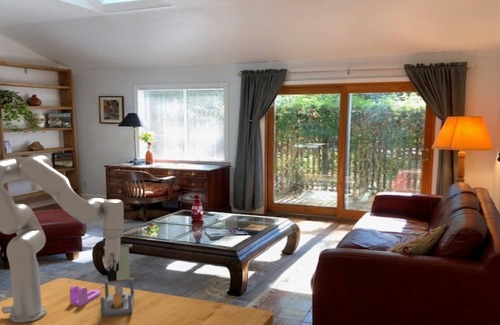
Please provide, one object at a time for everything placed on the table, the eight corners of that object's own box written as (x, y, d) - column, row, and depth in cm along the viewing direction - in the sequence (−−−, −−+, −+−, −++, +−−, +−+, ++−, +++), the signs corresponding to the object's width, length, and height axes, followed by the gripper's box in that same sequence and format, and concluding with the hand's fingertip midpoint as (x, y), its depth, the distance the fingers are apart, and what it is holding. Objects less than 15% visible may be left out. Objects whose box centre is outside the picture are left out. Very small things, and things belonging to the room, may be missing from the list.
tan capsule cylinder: (113, 310, 169) (112, 297, 169) (114, 307, 172) (113, 293, 172) (121, 309, 170) (120, 296, 169) (122, 306, 173) (121, 293, 172)
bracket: (81, 306, 176) (80, 289, 175) (70, 304, 178) (69, 287, 178) (103, 293, 188) (102, 278, 187) (92, 291, 190) (92, 276, 190)
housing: (101, 317, 167) (100, 295, 166) (105, 300, 181) (104, 280, 180) (131, 313, 169) (131, 292, 168) (134, 297, 184) (133, 278, 182)
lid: (103, 246, 180) (103, 246, 181) (104, 284, 179) (104, 283, 180) (132, 244, 182) (132, 244, 183) (133, 281, 182) (133, 281, 183)
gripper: (105, 226, 175) (105, 268, 177) (99, 239, 158) (100, 285, 160) (125, 226, 177) (125, 267, 179) (121, 238, 160) (121, 284, 162)
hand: (113, 275), depth 169 cm, fingers open, 9 cm apart
